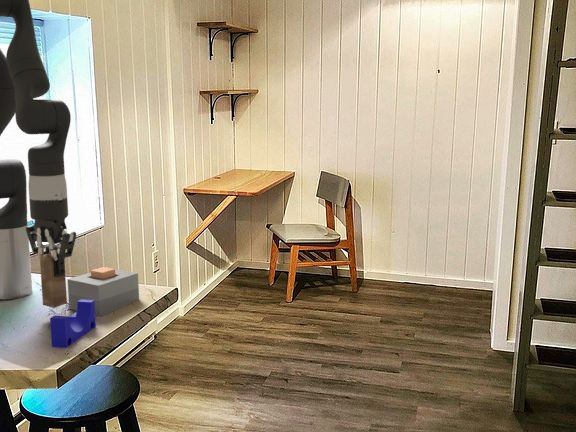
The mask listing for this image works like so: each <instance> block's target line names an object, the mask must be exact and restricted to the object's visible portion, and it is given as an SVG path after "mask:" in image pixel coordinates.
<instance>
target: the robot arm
mask: <svg viewBox="0 0 576 432" xmlns="http://www.w3.org/2000/svg"><path fill="white" fill-rule="evenodd" d="M0 17H3V18H4V17H5V18H12V19H13V21H14V24H15V30H14V34H13V36H12V38H11V41H10V42H9V45H8V47H7V50H6V54H5V53H3V51H2V49H1V48H0V137H1V136H2V134H3V133H4V131H5V129H6V128H7V127H8V125H9V124H10V122H11V121H12V120H13V118H14V116H15V123H16V126H18V128H19V130H21V132H23V133H25V134H27V135H48V137H47V139H46V141H45V142H44V143H42V144H38V145H35V146H31V147H30V148H29V149H28V151H27V162H28V163H27V165H28V166H27V167H28V175H29V176H28V186H27V172H26V169H25V165H24V163H23V162H22V161H21V160H20V159H16V158H12V159H10V158H9V159H0V199H8V201H7V202H6V204H5V205H4V206H2V207H1V208H0V300H13V299H15V300H16V299H22V298H25V297H28V296H29V295H31V294H32V293H33V283H32V282H33V280H32V269H31V268H32V267H31V265H32V264H31V253H30V252H31V251H32V253H33V254H37V256H38V258H40V255H45V254H49V253H52V254H53V259H54V260H53V264H54V276H55V277H61V276H64V274H65V275H66V265H65V263H66V262H64V260H65V259H66V258H71V257H72V255H73V251H74V247H75V243H76V238H77V233H76V231H70V230H69V229H67V228H68V227H67V223H66V221H65V220H66V219H67V218H68V216H69V204H68V186H67V179H66V174H65V171H66V170H65V151H66V144H67V140H68V139H67V138H68V135H69V130H70V126H71V120H72V118H71V116H72V115H71V112H70V108H69V107H68V105H67V104H66V103H65V102H64V101H63V100H61V99H37V98H40V97H43V96H44V95H46V94H47V93H48V92H49V91H50V88H51V83H50V80H49V77H48V74H47V71H46V68H45V66H44V62H43V60H42V57H41V54H40V50H39V46H38V43H37V37H36V30H35V26H34V19H33V15H32V9H31V4H30V0H0ZM27 187H28V193H27ZM27 195H28V198H29V199H28V200H29V214H30V218H31V220H34V223H33V225H30V226H29V225H28V204H27V203H28V201H27ZM30 248H31V251H30ZM58 249H59V252H58ZM58 253H59V254H58Z"/></svg>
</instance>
